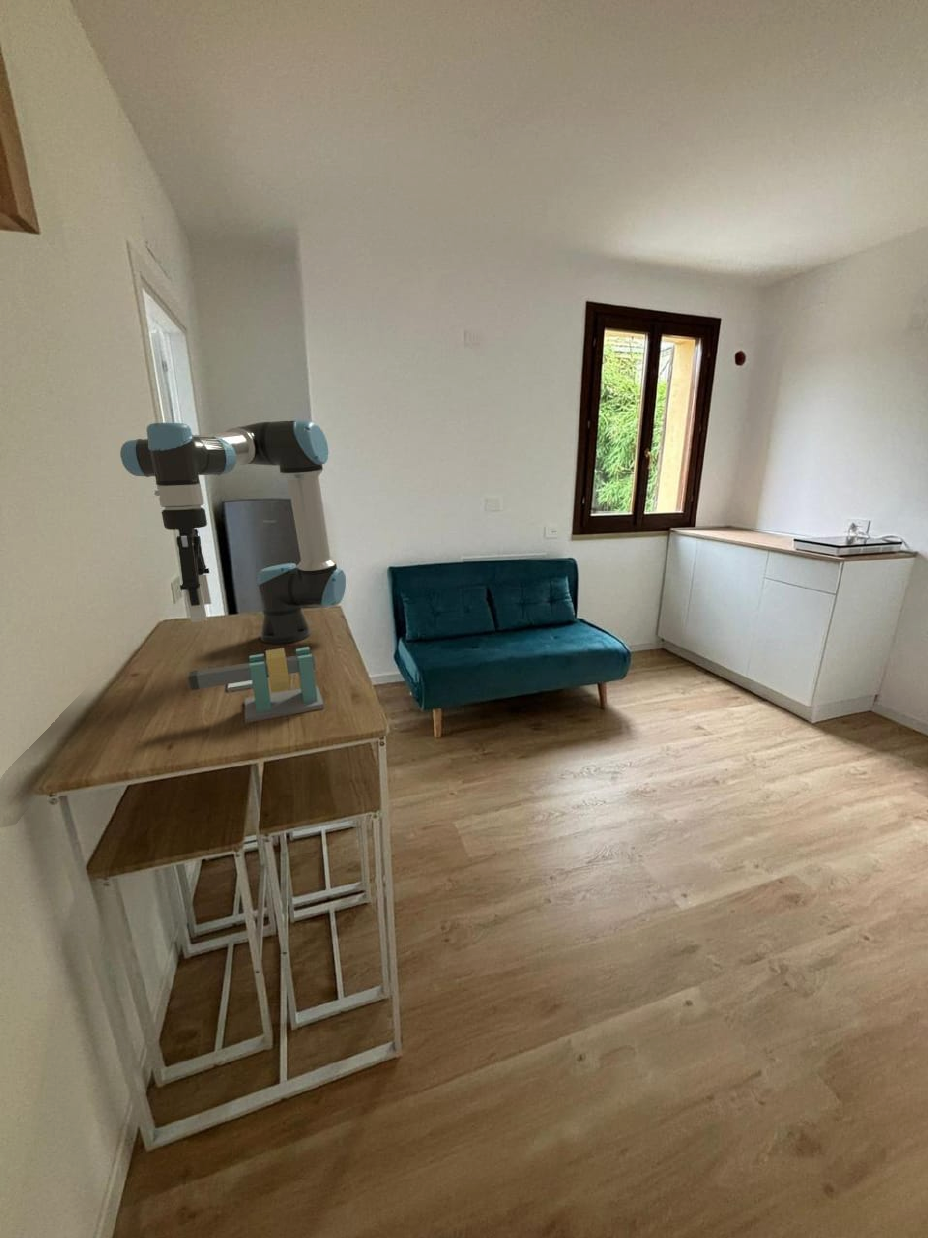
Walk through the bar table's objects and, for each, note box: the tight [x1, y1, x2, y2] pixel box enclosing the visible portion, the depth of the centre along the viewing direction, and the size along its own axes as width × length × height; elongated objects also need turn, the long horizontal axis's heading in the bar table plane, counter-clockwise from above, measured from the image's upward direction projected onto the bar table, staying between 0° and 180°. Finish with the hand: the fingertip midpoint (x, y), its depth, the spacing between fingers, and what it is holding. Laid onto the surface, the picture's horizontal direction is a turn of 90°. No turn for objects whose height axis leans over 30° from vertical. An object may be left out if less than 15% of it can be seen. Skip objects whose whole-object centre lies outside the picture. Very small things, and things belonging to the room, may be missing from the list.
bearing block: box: [244, 646, 325, 724], centre depth 116 cm, size 11×16×12 cm, turn 112°
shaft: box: [188, 652, 316, 691], centre depth 113 cm, size 3×26×3 cm, turn 112°
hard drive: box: [226, 680, 253, 692], centre depth 133 cm, size 2×8×12 cm
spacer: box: [265, 647, 291, 693], centre depth 115 cm, size 6×4×8 cm, turn 22°
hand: (201, 612), depth 106 cm, fingers open, 13 cm apart
